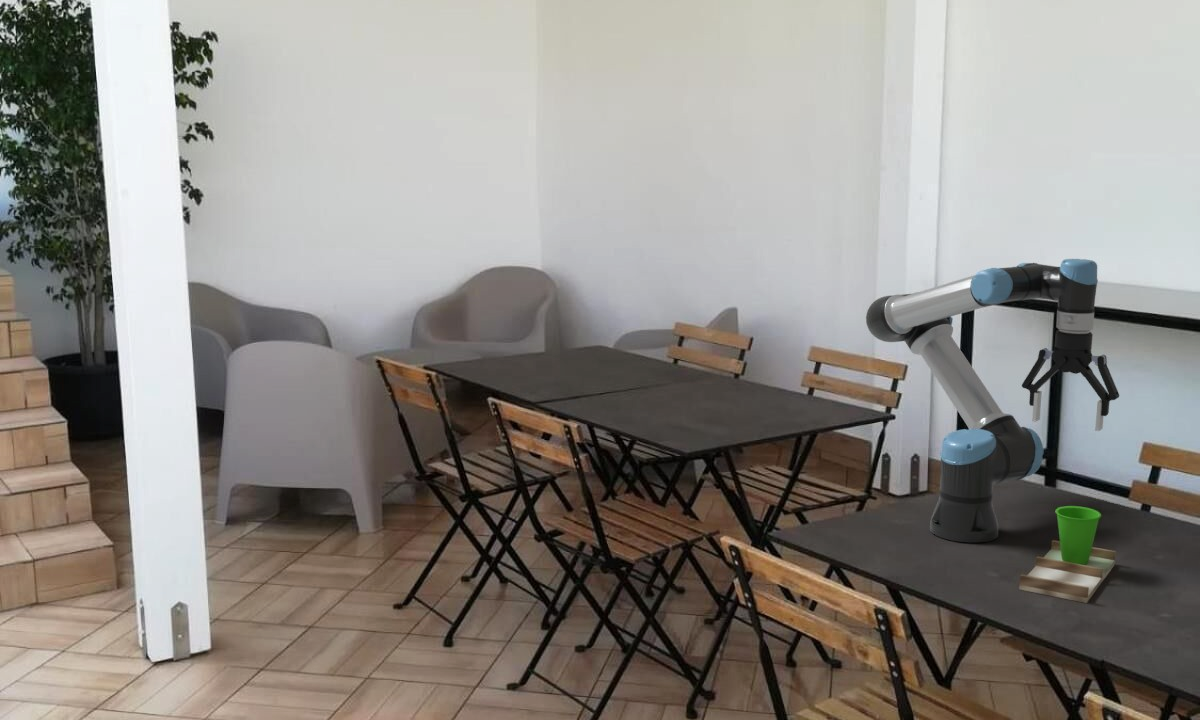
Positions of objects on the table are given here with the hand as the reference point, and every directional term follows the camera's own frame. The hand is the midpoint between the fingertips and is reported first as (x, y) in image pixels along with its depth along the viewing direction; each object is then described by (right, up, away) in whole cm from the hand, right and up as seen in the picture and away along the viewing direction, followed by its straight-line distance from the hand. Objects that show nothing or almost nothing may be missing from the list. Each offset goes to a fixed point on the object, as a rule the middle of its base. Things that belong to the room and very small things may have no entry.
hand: (1066, 425), depth 267 cm
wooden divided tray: (-6, -31, -16) cm, 35 cm away
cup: (-3, -29, -11) cm, 31 cm away
